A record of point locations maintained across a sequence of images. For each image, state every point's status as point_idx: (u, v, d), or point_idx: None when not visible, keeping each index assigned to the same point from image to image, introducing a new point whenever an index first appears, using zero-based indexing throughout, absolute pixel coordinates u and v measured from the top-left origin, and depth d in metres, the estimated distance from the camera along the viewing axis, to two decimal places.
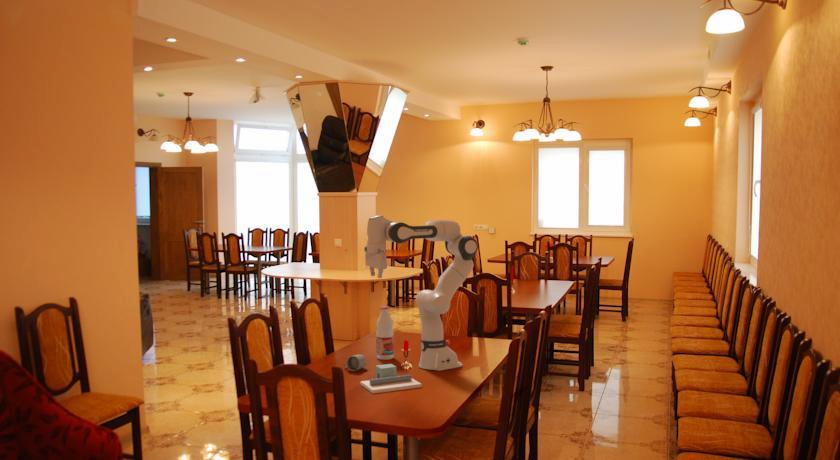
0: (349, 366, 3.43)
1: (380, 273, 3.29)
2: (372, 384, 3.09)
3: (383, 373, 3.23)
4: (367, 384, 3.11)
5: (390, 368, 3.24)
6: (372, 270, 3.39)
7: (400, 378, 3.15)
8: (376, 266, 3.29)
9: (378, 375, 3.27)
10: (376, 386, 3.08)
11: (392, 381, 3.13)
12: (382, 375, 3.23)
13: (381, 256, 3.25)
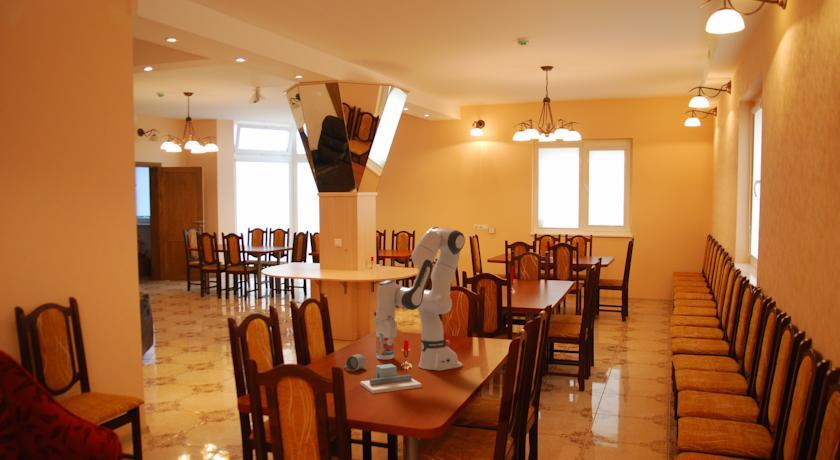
0: (348, 366, 3.44)
1: (390, 340, 3.21)
2: (372, 384, 3.09)
3: (383, 373, 3.23)
4: (367, 384, 3.11)
5: (390, 368, 3.24)
6: (381, 335, 3.31)
7: (400, 378, 3.15)
8: (386, 333, 3.21)
9: (378, 375, 3.27)
10: (376, 386, 3.08)
11: (392, 381, 3.13)
12: (382, 375, 3.23)
13: (391, 324, 3.17)
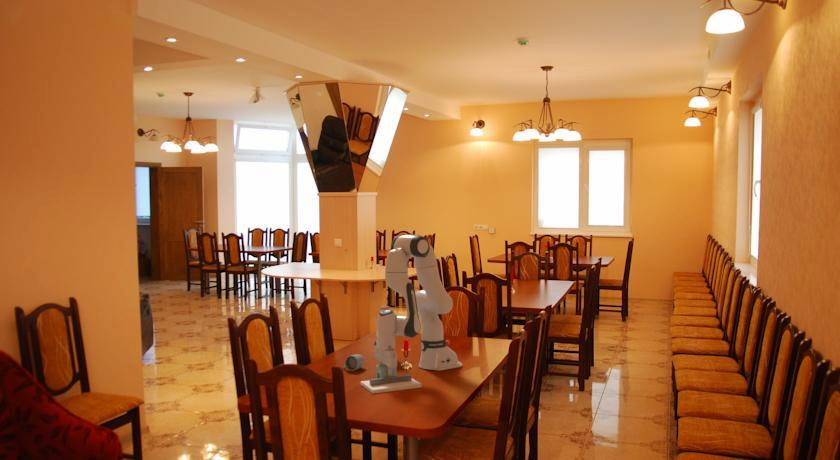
0: (347, 366, 3.44)
1: (389, 370, 3.22)
2: (372, 384, 3.09)
3: (383, 373, 3.23)
4: (367, 384, 3.11)
5: None
6: None
7: (400, 378, 3.15)
8: (386, 363, 3.22)
9: (378, 375, 3.27)
10: (376, 386, 3.08)
11: (392, 381, 3.13)
12: (382, 375, 3.23)
13: (391, 354, 3.18)
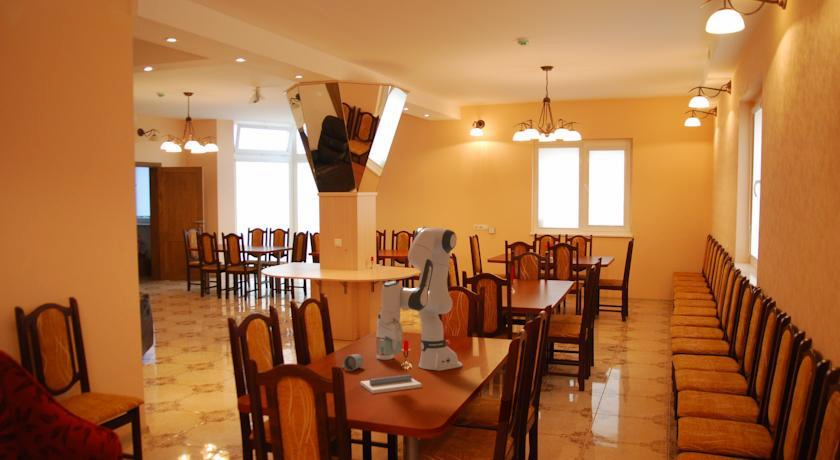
0: (346, 366, 3.44)
1: (394, 344, 3.08)
2: (372, 384, 3.09)
3: (387, 346, 3.09)
4: (367, 384, 3.11)
5: None
6: None
7: (400, 378, 3.15)
8: (391, 337, 3.08)
9: (382, 349, 3.13)
10: (376, 386, 3.08)
11: (392, 381, 3.13)
12: (386, 349, 3.09)
13: (396, 327, 3.04)
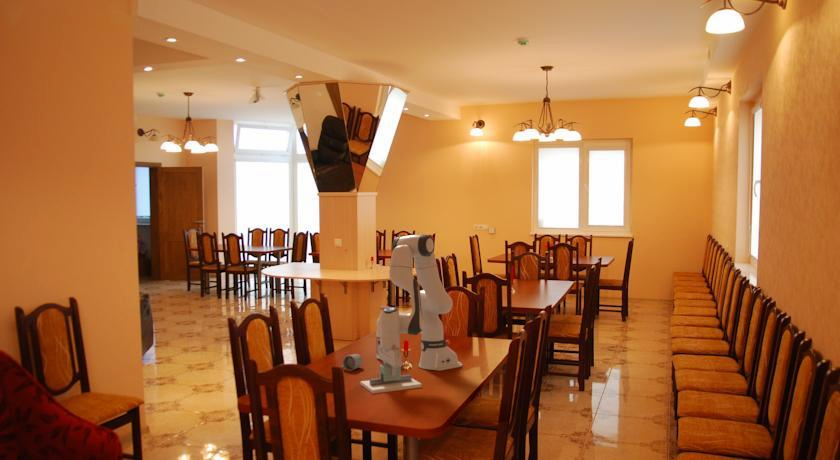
0: (345, 366, 3.44)
1: (394, 370, 3.09)
2: (372, 384, 3.09)
3: (387, 373, 3.10)
4: (367, 384, 3.11)
5: None
6: None
7: None
8: (390, 363, 3.08)
9: (381, 375, 3.14)
10: (376, 386, 3.08)
11: (392, 381, 3.13)
12: (386, 375, 3.10)
13: (396, 354, 3.05)
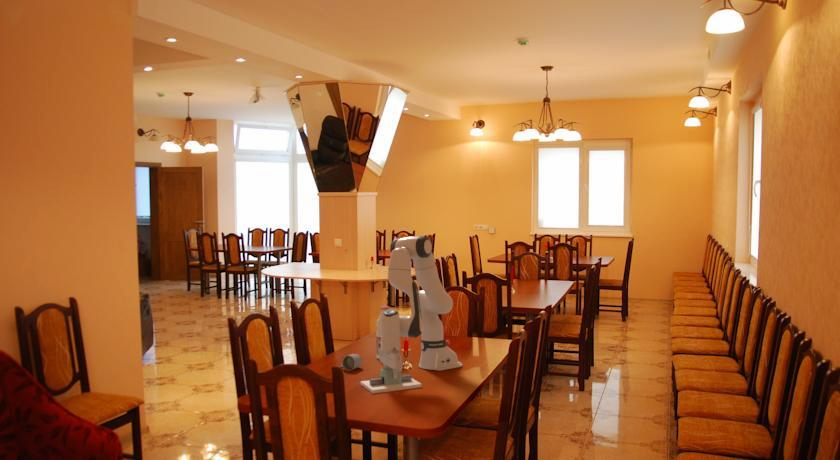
0: (345, 365, 3.45)
1: (395, 374, 3.09)
2: (372, 384, 3.09)
3: (388, 377, 3.10)
4: (367, 384, 3.11)
5: None
6: (386, 367, 3.19)
7: None
8: (391, 366, 3.08)
9: None
10: (376, 386, 3.08)
11: None
12: (386, 379, 3.10)
13: (396, 357, 3.05)
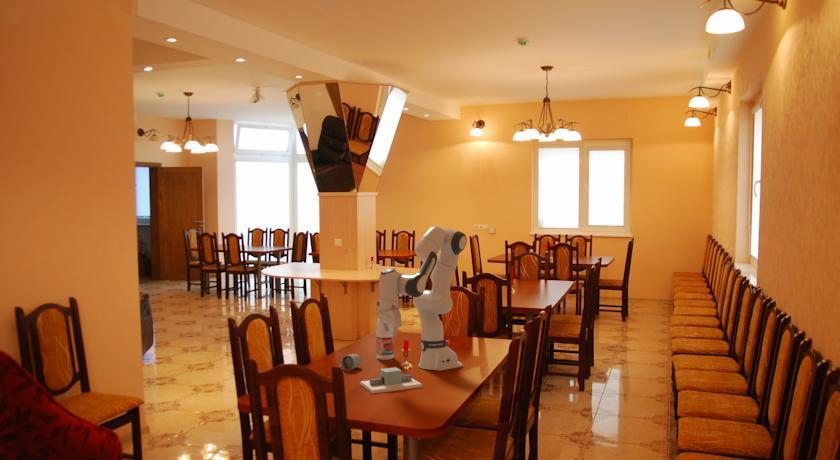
0: (344, 365, 3.45)
1: (394, 330, 3.13)
2: (372, 384, 3.09)
3: (388, 377, 3.10)
4: (367, 384, 3.11)
5: (395, 372, 3.11)
6: (385, 325, 3.23)
7: None
8: (390, 323, 3.13)
9: None
10: (376, 386, 3.08)
11: None
12: (386, 379, 3.10)
13: (395, 313, 3.09)
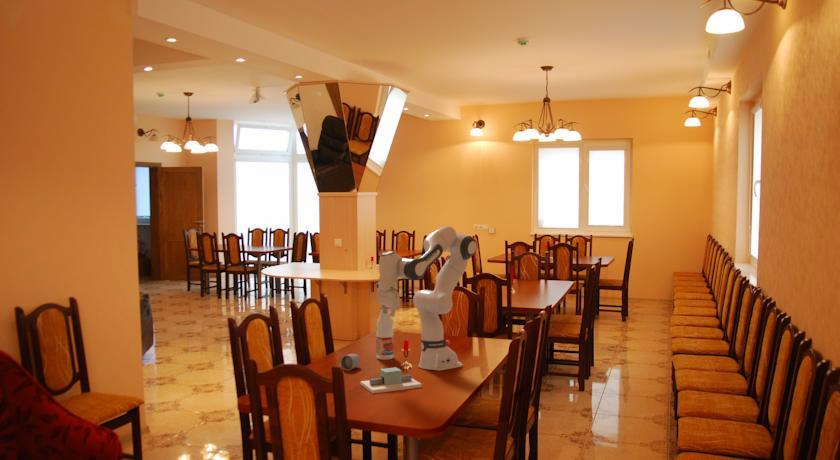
0: (343, 365, 3.45)
1: (392, 312, 3.18)
2: (372, 384, 3.09)
3: (388, 377, 3.10)
4: (367, 384, 3.11)
5: (395, 372, 3.11)
6: (384, 307, 3.28)
7: None
8: (388, 304, 3.17)
9: None
10: (376, 386, 3.08)
11: None
12: (386, 379, 3.10)
13: (394, 294, 3.14)
